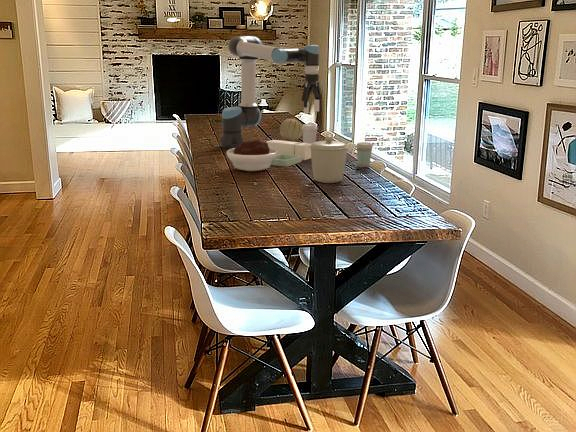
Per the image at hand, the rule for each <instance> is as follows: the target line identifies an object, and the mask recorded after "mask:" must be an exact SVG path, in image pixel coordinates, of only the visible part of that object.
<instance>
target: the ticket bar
mask: <svg viewBox="0 0 576 432" xmlns="http://www.w3.org/2000/svg"><path fill="white" fill-rule="evenodd" d="M265 142H266V143H268V147H269V148H271V149H274V150H276V151H277V155H279V154H288V155H295V145H296V144H300V143H301V142H300V141H299V142H298V141H293V142H290V141H286V140H280V139H279V140H277V139H272V140H267V141H265Z"/></svg>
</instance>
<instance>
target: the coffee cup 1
mask: <svg viewBox="0 0 576 432" xmlns="http://www.w3.org/2000/svg"><path fill="white" fill-rule="evenodd" d="M301 129H302V143H309V144H312V143H314V142H317V141H316V140H317V131H318V129H319V128H318V126H317V124H313V123H312V124H311V123H310V124H308V123H306V124H302V128H301Z"/></svg>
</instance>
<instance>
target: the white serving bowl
mask: <svg viewBox="0 0 576 432" xmlns="http://www.w3.org/2000/svg"><path fill="white" fill-rule="evenodd" d="M266 142H267V141H261V140H259V139H255V140H244V142H242V144H241V145H240V146H239V147H236V148H228V150H227V151H226V156H227V158H228V159H229V160H230V162H231V163H232V165H233V166H234V167H233V168H235V169H237V170H240V171H246V172H259V171H264V170H267V169H269V168H270V166H272V165H271V162H272V161H273V160H274V159H275V157H276V155H277V151H276V150H274V149H271V148H269V147H268V143H266Z"/></svg>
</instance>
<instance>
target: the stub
mask: <svg viewBox="0 0 576 432" xmlns="http://www.w3.org/2000/svg"><path fill="white" fill-rule="evenodd" d="M309 145H310V144H309V143H303V142H300V144H296V145H295V155H297V156H302V161H307V160H310V159H311V149H310V147H309Z"/></svg>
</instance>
